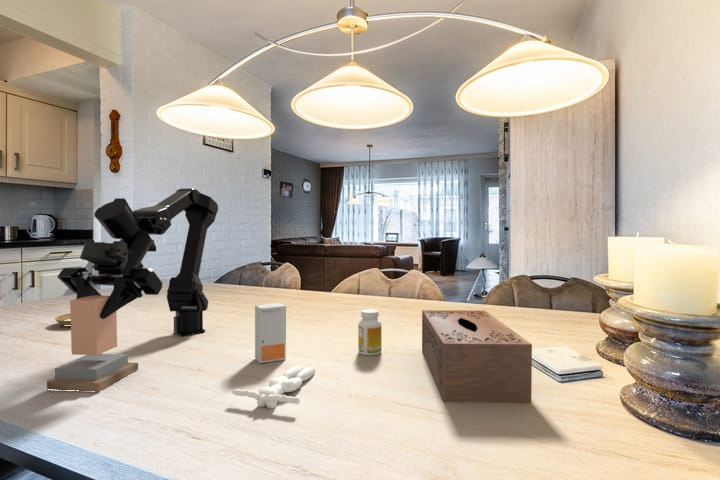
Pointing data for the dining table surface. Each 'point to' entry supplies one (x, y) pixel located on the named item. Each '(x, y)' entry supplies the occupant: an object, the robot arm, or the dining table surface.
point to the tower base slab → (93, 384)
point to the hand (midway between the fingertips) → (88, 317)
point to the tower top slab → (91, 367)
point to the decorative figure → (279, 387)
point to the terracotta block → (92, 326)
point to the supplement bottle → (369, 333)
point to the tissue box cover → (476, 357)
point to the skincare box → (270, 332)
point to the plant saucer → (64, 317)
